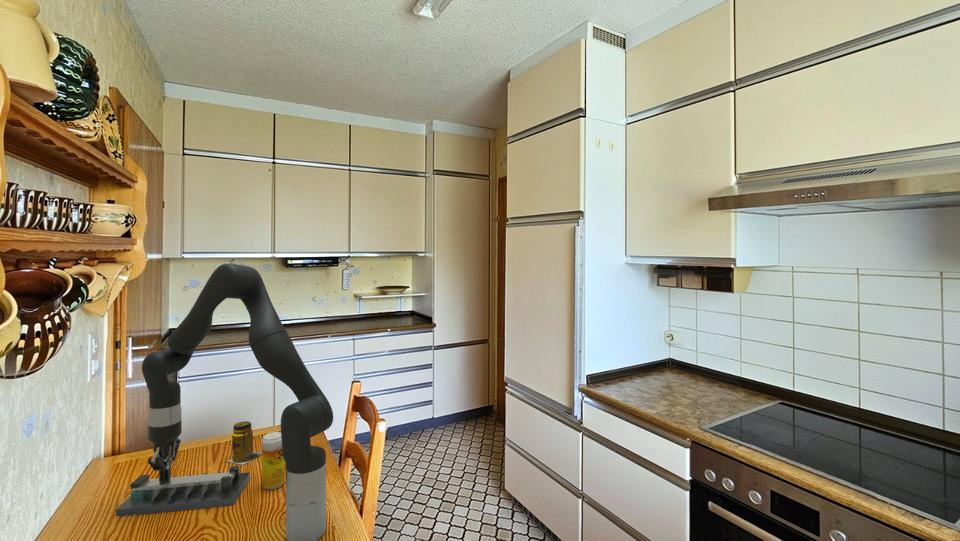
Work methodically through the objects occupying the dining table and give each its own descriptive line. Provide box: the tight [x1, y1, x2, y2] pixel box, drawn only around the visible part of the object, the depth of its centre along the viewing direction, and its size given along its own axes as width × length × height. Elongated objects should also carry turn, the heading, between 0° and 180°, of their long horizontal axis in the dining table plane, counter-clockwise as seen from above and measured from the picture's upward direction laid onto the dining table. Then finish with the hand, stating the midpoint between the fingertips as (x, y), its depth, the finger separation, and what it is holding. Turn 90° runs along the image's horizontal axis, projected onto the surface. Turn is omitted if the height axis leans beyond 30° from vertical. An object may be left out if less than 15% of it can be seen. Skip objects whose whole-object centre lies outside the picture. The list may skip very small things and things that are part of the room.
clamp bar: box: [130, 471, 236, 492], centre depth 120 cm, size 5×25×2 cm, turn 102°
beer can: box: [261, 431, 286, 490], centre depth 127 cm, size 6×6×15 cm
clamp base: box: [115, 465, 251, 517], centre depth 120 cm, size 14×28×6 cm, turn 102°
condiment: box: [227, 421, 262, 466], centre depth 143 cm, size 7×8×12 cm
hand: (165, 480), depth 119 cm, fingers closed
